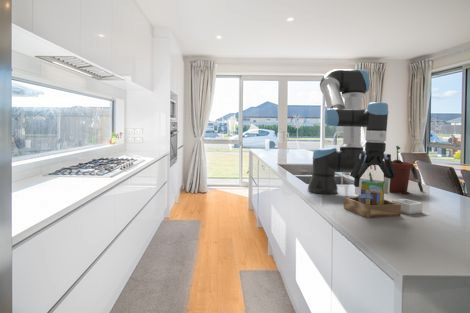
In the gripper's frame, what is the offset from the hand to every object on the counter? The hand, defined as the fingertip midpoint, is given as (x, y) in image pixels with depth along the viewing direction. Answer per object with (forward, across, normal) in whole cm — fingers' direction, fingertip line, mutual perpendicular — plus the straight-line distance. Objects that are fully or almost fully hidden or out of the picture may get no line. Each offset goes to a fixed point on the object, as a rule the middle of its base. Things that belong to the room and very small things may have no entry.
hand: (372, 194), depth 129 cm
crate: (+7, 0, 0) cm, 7 cm away
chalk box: (+6, 0, 0) cm, 6 cm away
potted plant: (+7, +48, +34) cm, 59 cm away
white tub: (+7, +16, -2) cm, 18 cm away
